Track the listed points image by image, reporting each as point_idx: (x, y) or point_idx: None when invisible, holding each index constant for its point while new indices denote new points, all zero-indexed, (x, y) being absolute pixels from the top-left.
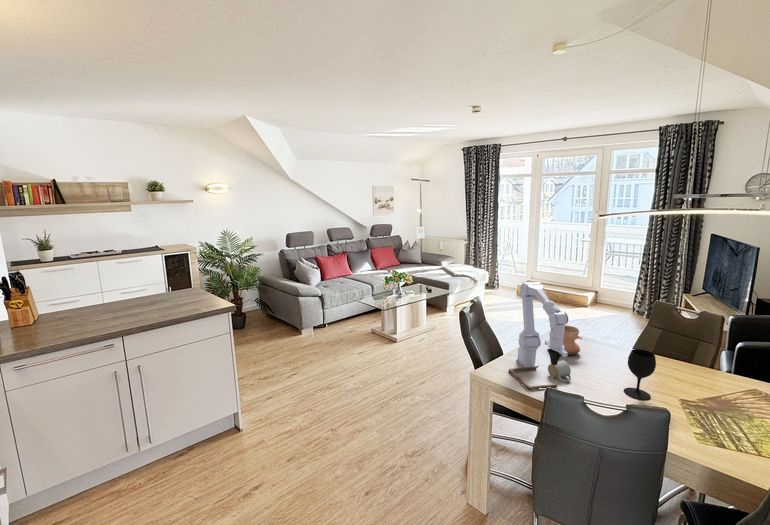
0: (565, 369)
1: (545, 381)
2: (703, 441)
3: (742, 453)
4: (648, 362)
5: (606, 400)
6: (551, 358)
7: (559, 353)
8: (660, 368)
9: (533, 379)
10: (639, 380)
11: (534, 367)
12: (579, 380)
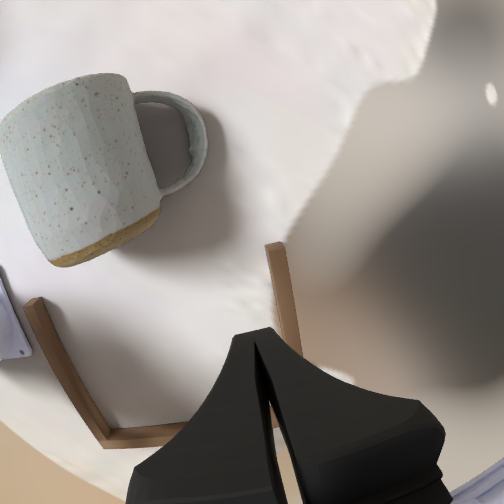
0: (123, 126)
1: (189, 290)
2: None
3: None
4: None
5: (410, 16)
6: (274, 448)
7: (426, 478)
8: None
9: (171, 355)
10: None
11: (35, 318)
12: (162, 31)
